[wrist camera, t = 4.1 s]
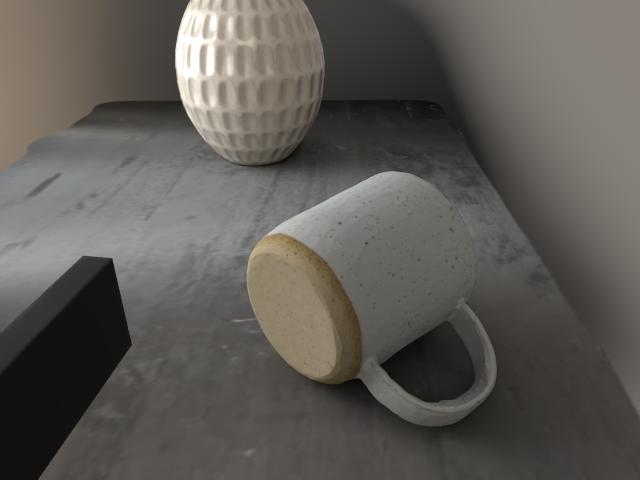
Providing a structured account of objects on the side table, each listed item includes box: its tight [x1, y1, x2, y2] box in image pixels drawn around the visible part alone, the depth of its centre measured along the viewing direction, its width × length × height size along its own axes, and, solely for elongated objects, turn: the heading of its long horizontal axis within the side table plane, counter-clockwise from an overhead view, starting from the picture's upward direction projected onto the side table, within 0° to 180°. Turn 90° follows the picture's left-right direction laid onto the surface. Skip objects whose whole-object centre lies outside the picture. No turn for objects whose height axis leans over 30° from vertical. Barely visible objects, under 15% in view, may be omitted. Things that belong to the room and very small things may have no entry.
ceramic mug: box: [247, 171, 497, 426], centre depth 22 cm, size 11×8×8 cm
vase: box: [176, 0, 324, 165], centre depth 44 cm, size 13×13×17 cm
